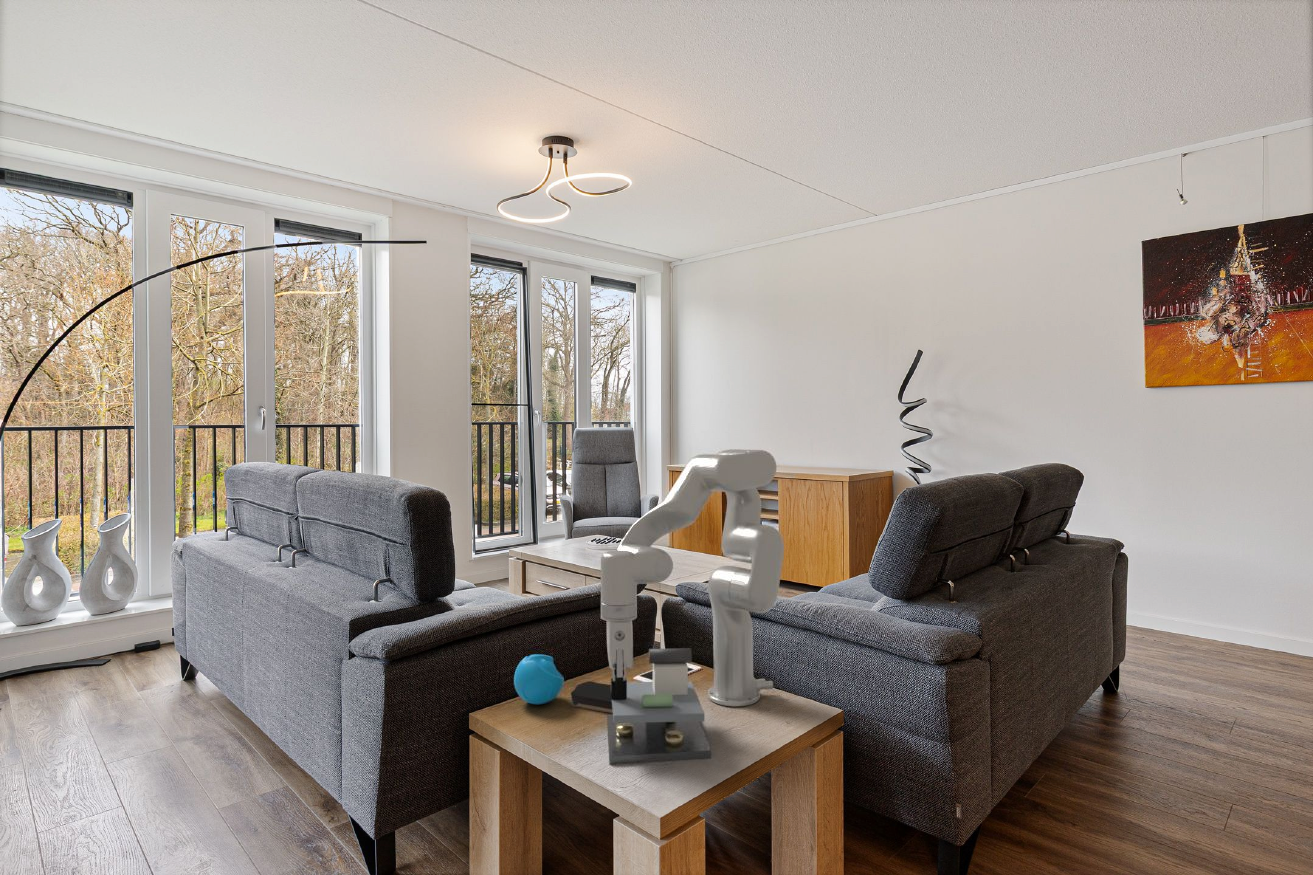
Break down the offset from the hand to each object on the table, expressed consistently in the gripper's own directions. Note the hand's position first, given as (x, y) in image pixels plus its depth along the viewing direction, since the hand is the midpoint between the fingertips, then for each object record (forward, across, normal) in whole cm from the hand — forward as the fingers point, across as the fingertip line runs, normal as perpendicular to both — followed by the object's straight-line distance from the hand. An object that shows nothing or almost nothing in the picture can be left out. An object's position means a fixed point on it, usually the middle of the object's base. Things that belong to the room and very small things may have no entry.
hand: (618, 698), depth 142 cm
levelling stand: (+9, 0, -8) cm, 12 cm away
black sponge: (+9, +20, +2) cm, 22 cm away
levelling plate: (+3, 0, -8) cm, 8 cm away
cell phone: (+9, +38, -15) cm, 42 cm away
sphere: (+9, +23, +18) cm, 31 cm away
